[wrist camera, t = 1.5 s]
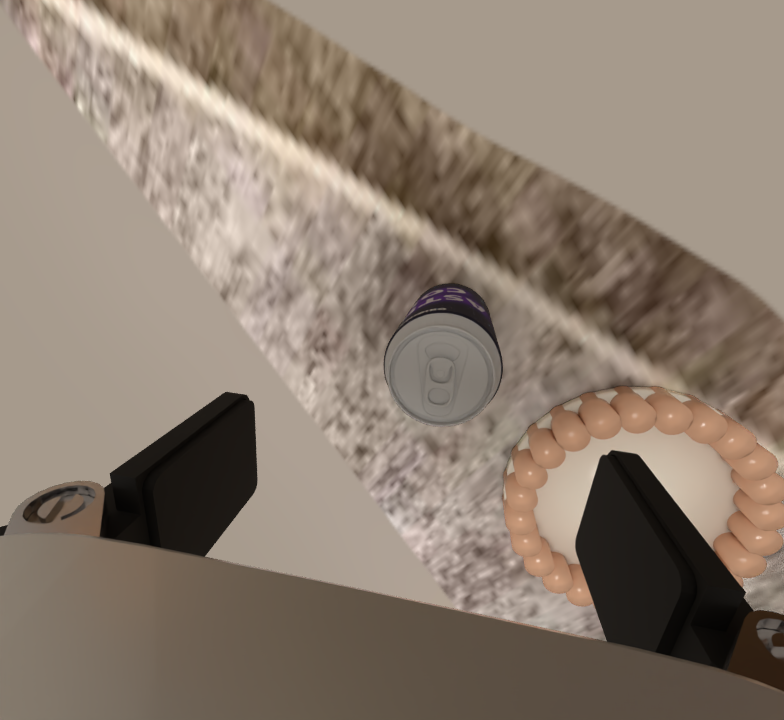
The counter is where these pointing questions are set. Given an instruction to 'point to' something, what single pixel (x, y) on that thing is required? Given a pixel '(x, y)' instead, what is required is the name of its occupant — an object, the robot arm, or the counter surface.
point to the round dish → (667, 462)
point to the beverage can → (444, 358)
